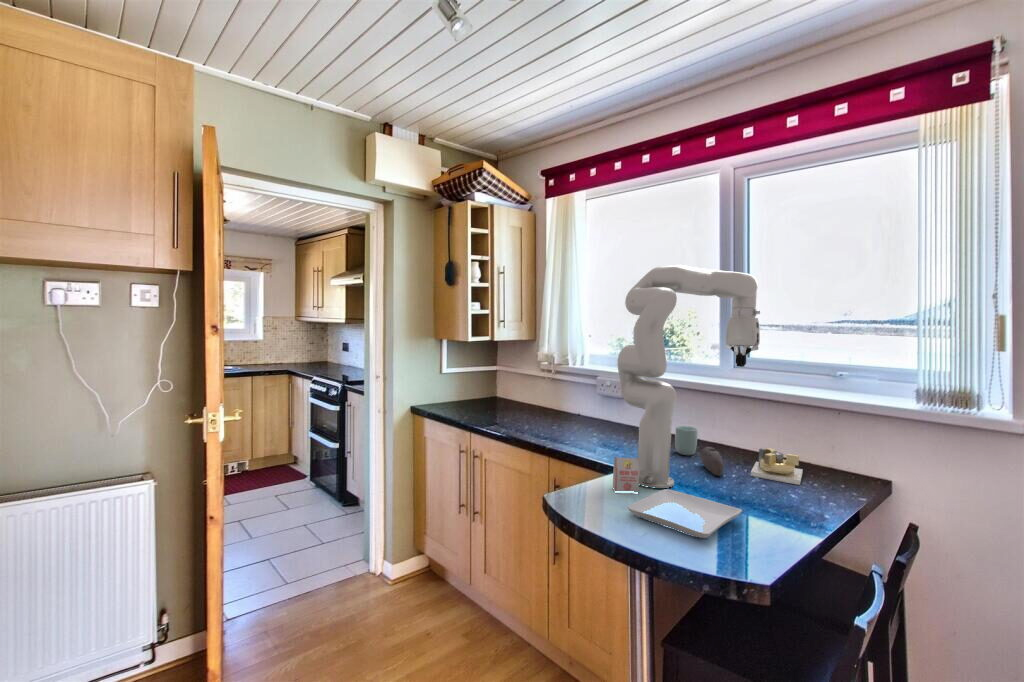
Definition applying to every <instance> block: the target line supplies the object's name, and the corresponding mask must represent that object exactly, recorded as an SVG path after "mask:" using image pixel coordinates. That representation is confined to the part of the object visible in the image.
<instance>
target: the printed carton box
mask: <svg viewBox="0 0 1024 682" xmlns="http://www.w3.org/2000/svg"><path fill="white" fill-rule="evenodd" d="M612 471H613V473H612V489H613V488H614V490H615V491H634V492H638V493H639V491H640V489H639V488H640V485H639V459H638V457H621V456H620V457H614V464H613V469H612Z"/></svg>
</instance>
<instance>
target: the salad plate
mask: <svg viewBox="0 0 1024 682" xmlns="http://www.w3.org/2000/svg"><path fill="white" fill-rule="evenodd" d="M668 502H669V503H670V502H671V503H673V502H674V503H677V504H679V505H681V506H683V508H686V509H687V510H689V512H692V513H693V514H695V513H697V514H698V515H700V517H701V518H703V520H705V521H704V522H705V524H704V523H703V522H702V523H703V524H704V525H703V526H702V527H703V532H698V531H695V530H692V529H690V528H687V527H685V526H682V525H679V524H677V523H674V522H671V521H668V520H665V519H662V518H659V517H656V516H653V515H650V514H646V513H643V512H644V511H647V510H650V509H651V508H654V507H655V506H658V505H661V504H663V503H668ZM627 510H628V511H629V512H630V513H631V514H632V515H634V516H636V517H638V516H639V517H638V518H640V517H642V518H644V519H643V520H645V519H647V520H650V521H653V522H656V523H659V524H662V525H665V526H668V527H671V528H674V529H676V530H679V531H682V532H684V533H687V534H690V535H693V536H692V537H694V536H696V537H695V538H698V537H699V538H698V539H705V538H709V537H710V536H711V535H713V533H714V532H716V531H717V530H718V529H720V528H721V527H723V526H724V525H726V524H727V523H729V522H731V521H732V520H734V519H736V518H737V517H738V516H739V515H741V513H742V512H743V509H741V508H738V507H735V506H731V505H727V504H724V503H722V502H721V503H720V502H717V501H713V500H711V499H707V498H703V497H698V496H697V495H691V494H689V493H684V492H680V491H677V490H673V489H670V488H667V489H660V490H659V491H657V492H654V493H652V494H650V495H648V496H647V497H644V498H642V499H640V500H637V501H635V502H634V503H631V504H629V505H628V506H627ZM642 518H641V519H642ZM647 520H646V521H647ZM650 521H649V522H650ZM653 522H652V523H653ZM656 523H655V524H656ZM659 524H658V525H659ZM676 530H675V531H676ZM679 531H678V532H679ZM684 533H683V534H684ZM687 534H686V535H687ZM690 535H689V536H690Z"/></svg>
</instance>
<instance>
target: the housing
mask: <svg viewBox="0 0 1024 682" xmlns="http://www.w3.org/2000/svg"><path fill="white" fill-rule="evenodd" d="M765 454H767V450H766V448H758V461H755V463H754V465H753V467H752V469H751V471H750V477H754V478H759V479H764V480H765V479H766V480H771V481H776V482H781V483H785V484H791V485H792V484H794V485H796V486H797V485H798V486H801V482H802V477H803V468H797V467H795V471H794V473H793V474H779V473H773V472H769V471H766V470H763V469H762V468H761V467H760V462H761V458H764V455H765Z"/></svg>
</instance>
